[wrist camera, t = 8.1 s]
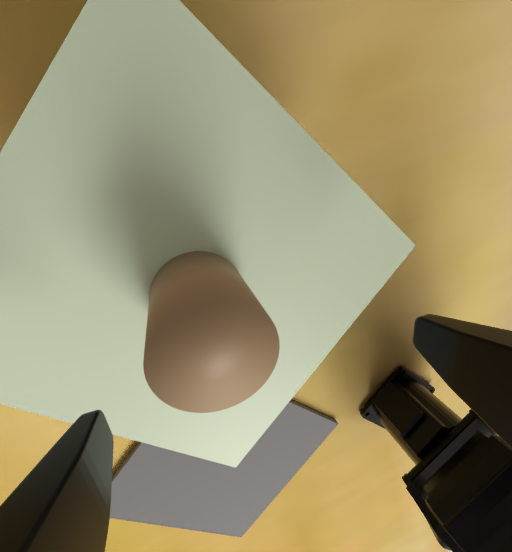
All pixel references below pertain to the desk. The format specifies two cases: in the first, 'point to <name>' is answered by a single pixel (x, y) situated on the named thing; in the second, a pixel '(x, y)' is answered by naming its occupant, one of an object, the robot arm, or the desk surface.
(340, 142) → the desk surface
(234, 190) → the lid
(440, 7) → the desk surface
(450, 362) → the robot arm
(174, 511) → the mat
